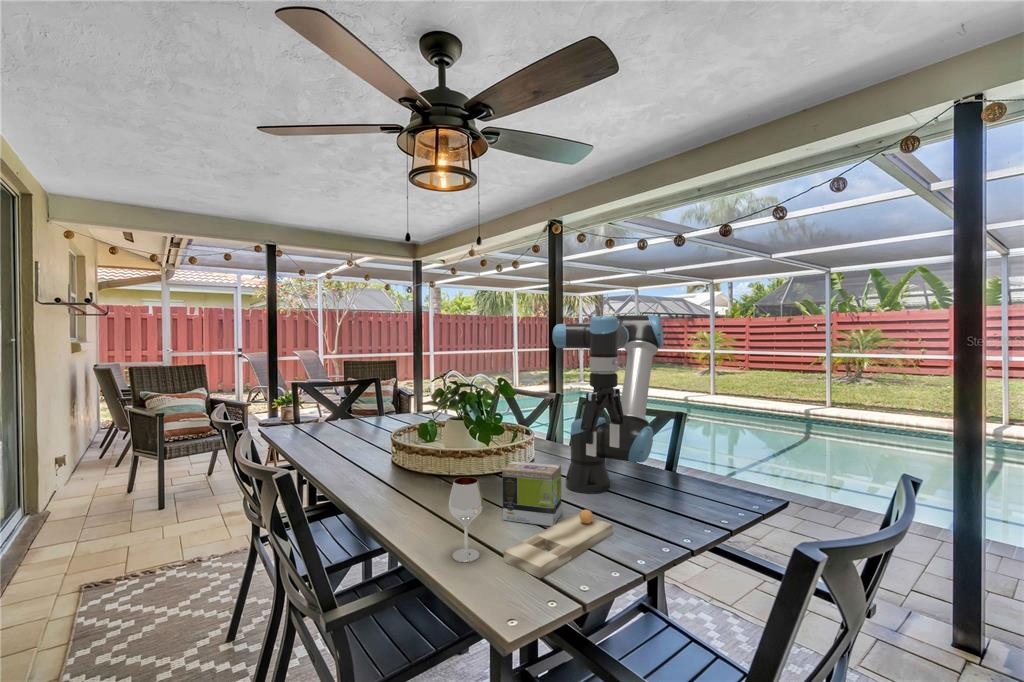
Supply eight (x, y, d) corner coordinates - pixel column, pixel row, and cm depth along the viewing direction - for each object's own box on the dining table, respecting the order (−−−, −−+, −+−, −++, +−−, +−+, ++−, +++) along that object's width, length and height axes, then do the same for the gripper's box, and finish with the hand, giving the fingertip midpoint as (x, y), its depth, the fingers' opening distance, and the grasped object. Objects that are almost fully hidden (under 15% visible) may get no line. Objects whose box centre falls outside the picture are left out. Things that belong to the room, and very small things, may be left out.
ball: (576, 523, 125) (577, 510, 125) (584, 519, 127) (584, 506, 127) (588, 527, 122) (588, 513, 122) (595, 522, 125) (595, 509, 125)
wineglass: (449, 548, 116) (449, 475, 116) (482, 547, 117) (482, 475, 116) (448, 565, 108) (447, 487, 107) (483, 563, 109) (483, 486, 108)
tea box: (561, 514, 137) (562, 463, 137) (553, 528, 128) (553, 474, 127) (513, 507, 142) (513, 459, 142) (501, 520, 133) (501, 468, 132)
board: (503, 561, 110) (503, 550, 110) (577, 522, 132) (577, 513, 132) (540, 578, 102) (540, 567, 102) (612, 533, 124) (612, 524, 124)
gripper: (591, 376, 118) (591, 462, 119) (636, 370, 136) (636, 445, 137) (567, 374, 123) (566, 457, 124) (613, 368, 141) (613, 441, 142)
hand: (603, 451), depth 130 cm, fingers open, 11 cm apart
